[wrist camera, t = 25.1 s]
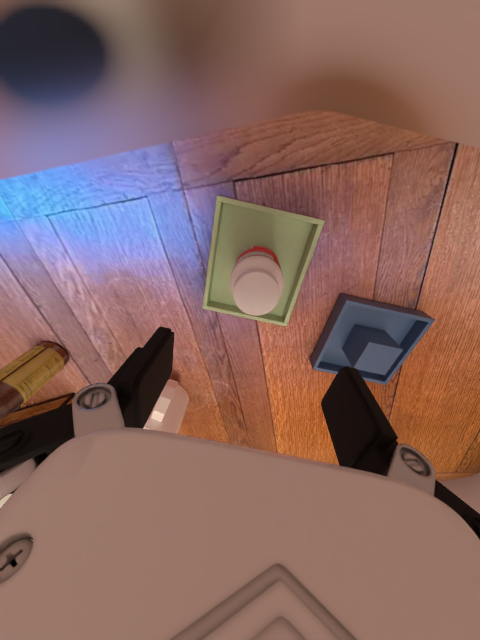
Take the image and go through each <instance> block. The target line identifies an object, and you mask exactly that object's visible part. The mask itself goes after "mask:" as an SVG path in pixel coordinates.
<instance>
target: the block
mask: <svg viewBox="0 0 480 640" xmlns="http://www.w3.org/2000/svg"><path fill="white" fill-rule="evenodd" d="M342 350H343V352H344V353H345V355H346V357H347V359H348V360H349V362H350V364H351V366H352V367H353V368H356V369H358V370H362V371H367V372H372V373H376V374H381V375H385V374H386V373H387V371H388V370H389V369H390V367H391V366H392V365H393V363H394V362H395V360H396V359H397V358H398V356H399V355H400V354H401V352H402V351H403V349H402V348H401V347H400V345H399V344H398V343H397V342H396V341H395V340H394V339H393V338H392V337H391V336H390V335H389V334H388V333H387V332H386V331H384V330H379V329H374V328H370V327H365V326H361V325H356V324H355V326H354V328H353V329H352V331H351V333H350V335H349V337H348V339H347V340H346V342H345V344H344V346H343V348H342Z"/></svg>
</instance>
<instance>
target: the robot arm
mask: <svg viewBox="0 0 480 640" xmlns="http://www.w3.org/2000/svg"><path fill="white" fill-rule="evenodd" d="M173 346H174V332H171V329H169V328H164V327H159V328H158V329H157V331H156V332H155V333H154V334H153V336H152V337H151V338H150V339H149V341H148V342H147V343H146V344H145V346H144V347H143V348H141V347H138V348H136V349H135V351H134V352H133V353H132V354H131V355H130V357H129V358H128V359H127V360H126V361H125V362H124V364H123V365H122V366H121V367H120V368H119V370H118V371H117V372H116V373H115V374H114V376H113V377H112V378H111V379H110V380H109V382H108V383H107V384H106V383H96V384H91V385H89V386H86V387H84V388H83V389H81V390H80V391H79V392H77V393H76V394H75V396H74V398H73V400H72V403H70V404H67V405H64V406H61V407H58V408H56V409H53V410H50V411H47V412H44V413H41V414H39V415H36V416H33V417H30V418H27V419H24V420H21V421H19V422H16V423H13V424H10V425H7V426H5V427H3V428H0V500H1V499H2V498H4V497H5V496H7V495H8V494H12V493H13V494H12V495H11V497H10V498H9V499H8V500H7V501H6V503H5V504H4V505H3V506H2V507H1V508H0V640H480V514H479V513H477V512H476V511H475V510H474V509H472V508H471V507H470V506H469V505H467V504H466V503H465V502H464V501H462V500H461V499H460V498H458V497H457V496H456V495H455V494H453V493H452V492H451V491H449V490H448V489H447V488H446V487H445V486H443V485H442V484H441V483H439V482H438V481H437V480H436V479H435V477H436V475H435V470H434V468H433V466H432V465H431V463H430V462H429V460H428V459H427V458H426V457H425V456H424V455H423V454H422V453H420V452H419V451H418V450H417V449H415V448H413V447H412V446H409V445H407V444H398V443H397V441H396V439H397V438H398V437H397V435H396V434H395V432H394V430H393V429H392V427H391V425H390V423H389V422H388V420H387V418H386V417H385V415H384V413H383V412H382V410H381V408H380V407H379V405H378V403H377V401H376V400H375V398H374V396H373V395H372V393H371V391H370V390H369V388H368V386H367V385H366V383H365V381H364V379H363V378H362V376H361V374H360V373H359V371H358V370H357V369H356V368H353V367H348V366H345V367H343V368H341V369H340V370H339V371H338V373H337V375H336V377H335V378H334V380H333V382H332V384H331V385H330V387H329V389H328V391H327V392H326V394H325V396H324V398H323V399H322V402H321V406H322V410H323V413H324V416H325V419H326V423H327V426H328V429H329V432H330V436H331V439H332V442H333V445H334V449H335V452H336V455H337V458H338V462H339V465H340V466H339V465H334V464H329V463H324V462H319V461H314V460H309V459H304V458H300V457H295V456H290V455H284V454H279V453H274V452H269V451H264V450H259V449H254V448H249V447H244V446H239V445H234V444H228V443H223V442H218V441H213V440H208V439H202V438H197V437H192V436H187V435H181V434H175V433H169V432H164V431H158V430H151V429H143V428H144V426H145V424H146V422H147V420H148V418H149V416H150V414H151V412H152V410H153V408H154V406H155V404H156V402H157V400H158V398H159V397H160V395H161V393H162V391H163V389H164V387H165V385H166V383H167V381H168V379H169V377H170V375H171V372H172V363H173ZM31 539H32V540H33V541H32V540H31Z"/></svg>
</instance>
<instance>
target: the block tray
mask: <svg viewBox="0 0 480 640" xmlns="http://www.w3.org/2000/svg"><path fill="white" fill-rule="evenodd" d="M434 321H435V319H433V318H432V317H430V316H429V315H427V314H426V313H424V312H422V311H417V310H413V309H408V308H404V307H399V306H395V305H390V304H386V303H381V302H377V301H372V300H368V299H363V298H359V297H354V296H350V295H345V294H340V296H339V298H338V300H337V302H336V304H335V306H334V309H333V311H332V313H331V315H330V317H329V319H328V321H327V324H326V326H325V328H324V330H323V332H322V334H321V336H320V338H319V341H318V343H317V345H316V347H315V349H314V351H313V353H312V356H311V358H310V362H311V365H312V368H313V369H314V370H319V371H324V372H328V373H333V374H337V373H338V371H339V370H340V369H341V368H343V367H345V366H348V367H352V366H351V364H350V362H349V360H348V359H347V357H346V355H345V353H344V352H343V350H342V348H343V346H344V344H345V342H346V340H347V339H348V337H349V335H350V333H351V331H352V329H353V328H354V326H355V324H356V325H361V326H365V327H370V328H374V329H379V330H384V331H386V332H387V333H388V334H389V335H390V336H391V337H392V338H393V339H394V340H395V341H396V342H397V343H398V344H399V345H400V347H401V348H402V349H403V351H402V352H401V354H400V355H399V356H398V358H397V359H396V360H395V362H394V363H393V365H392V366H391V367H390V369H389V370H388V371H387V373H386V374H385V375H381V374H376V373H372V372H367V371H362V370H358V369H357V370H358V371H359V373H360V374H361V376H362V378H363V379H364V380H366V381H371V382H376V383H381V384H385V385H386V384H387V383H388V382H389V381H390V379H391V378H392V377H393V375H394V374H395V373H396V371H397V370H398V369H399V367H400V366H401V365H402V363H403V362H404V361H405V359H406V358H407V357H408V355H409V354H410V353H411V351H412V350H413V349H414V347H415V346H416V345H417V343H418V342H419V341H420V339H421V338H422V337H423V335H424V334H425V333H426V331H427V330H428V329H429V327H430V326H431V325H432V323H433V322H434Z"/></svg>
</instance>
